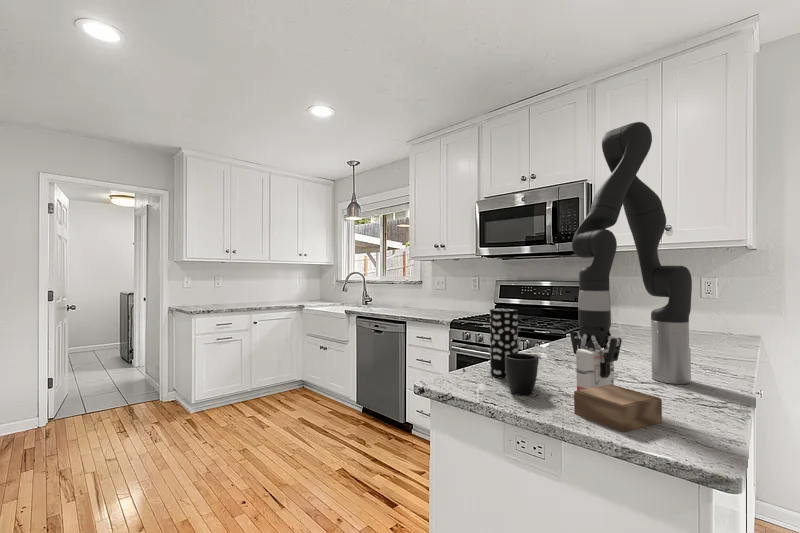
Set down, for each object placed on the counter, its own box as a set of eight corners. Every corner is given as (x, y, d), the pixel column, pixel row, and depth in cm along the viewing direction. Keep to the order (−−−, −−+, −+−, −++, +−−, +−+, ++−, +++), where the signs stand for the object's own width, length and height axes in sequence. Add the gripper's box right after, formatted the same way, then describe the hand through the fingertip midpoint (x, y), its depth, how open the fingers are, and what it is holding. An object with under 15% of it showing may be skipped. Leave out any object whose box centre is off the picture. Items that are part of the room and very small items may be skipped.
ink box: (591, 401, 101) (591, 352, 101) (575, 395, 105) (574, 349, 106) (615, 396, 105) (614, 349, 105) (598, 391, 109) (598, 346, 109)
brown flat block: (611, 405, 98) (611, 383, 98) (661, 422, 87) (661, 397, 87) (574, 413, 93) (574, 390, 93) (623, 432, 82) (622, 405, 82)
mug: (551, 390, 110) (551, 354, 111) (526, 399, 103) (525, 361, 103) (524, 384, 117) (524, 350, 117) (498, 392, 109) (498, 356, 109)
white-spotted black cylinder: (521, 378, 123) (521, 311, 123) (493, 378, 123) (493, 311, 123) (514, 371, 131) (513, 308, 131) (488, 371, 131) (487, 308, 131)
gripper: (630, 309, 101) (630, 379, 100) (581, 305, 114) (582, 367, 113) (608, 311, 97) (609, 383, 97) (561, 306, 110) (562, 370, 110)
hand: (594, 374), depth 105 cm, fingers closed on ink box, 5 cm apart
